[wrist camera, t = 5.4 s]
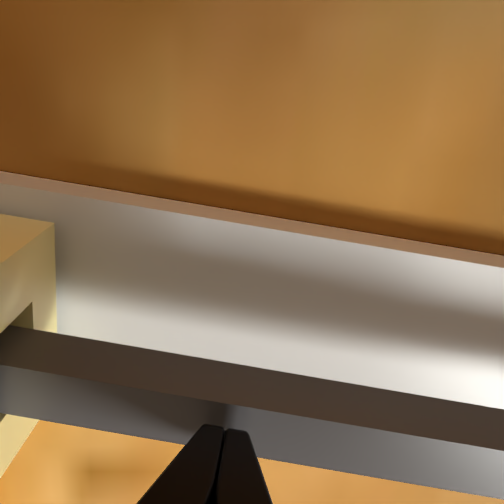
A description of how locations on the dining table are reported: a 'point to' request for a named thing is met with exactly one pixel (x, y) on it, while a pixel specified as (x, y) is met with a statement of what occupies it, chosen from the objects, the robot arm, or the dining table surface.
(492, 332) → the linear slide rail
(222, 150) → the dining table surface
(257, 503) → the robot arm
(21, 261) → the sleeve
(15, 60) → the dining table surface
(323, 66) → the dining table surface
